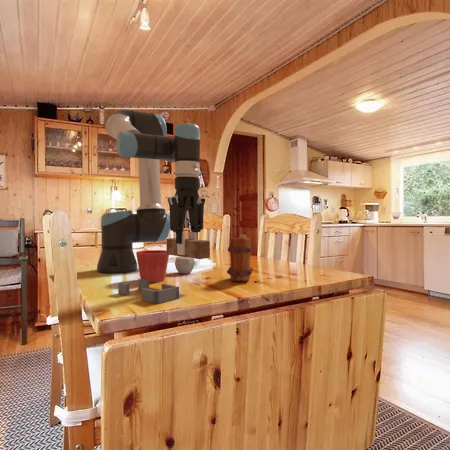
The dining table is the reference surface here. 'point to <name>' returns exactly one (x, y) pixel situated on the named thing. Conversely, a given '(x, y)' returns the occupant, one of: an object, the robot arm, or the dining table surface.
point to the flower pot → (152, 264)
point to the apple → (184, 264)
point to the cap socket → (160, 294)
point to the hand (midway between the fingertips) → (187, 253)
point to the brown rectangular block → (190, 248)
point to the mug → (240, 259)
